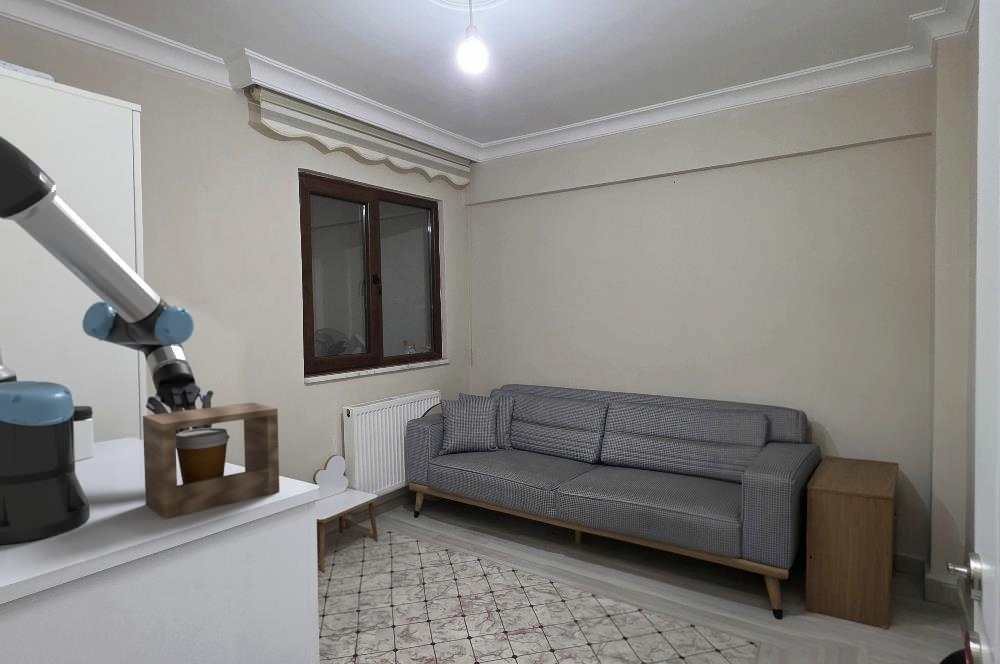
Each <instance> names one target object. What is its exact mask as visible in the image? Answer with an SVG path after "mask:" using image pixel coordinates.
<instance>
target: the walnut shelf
mask: <svg viewBox="0 0 1000 664" xmlns="http://www.w3.org/2000/svg"><path fill="white" fill-rule="evenodd" d="M278 413H279V412H278V408H277V407H273V406H268V405H264V404H261V403H258V402H257V403H256V402H245V403H239V404H238V403H237V404H230V405H229V404H228V405H221V406H215V407H214V406H213V407H212V406H211V408H204V409H202V408H197V409H195V410H187V411H185V410H183V411H179V412H171V411H170V412H168V413H162V414H154V413H153V414H148V415H143V416H142V434H143V459H144V460H143V461H144V463H143V464H144V487H145V489H144V490H145V491H144V493H145V505H146V506H147V507H148V508H150V509H151V510H153V511H154V512H155V513H156V514H157V515H159V516H160V517H162V518H163V519H164V520H166V519H171V518H176V517H179V516H183V515H188V514H192V513H197V512H201V511H204V510H209V509H213V508H217V507H221V506H226V505H230V504H233V503H237V502H241V501H242V500H243V501H246V499H247V500H251V499H255V498H259V497H258V496H260V497H263V496H262V495H264V496H267V495H266V494H268V495H271V493H272V494H276V493H279V492H280V464H279V462H280V459H279V423H278V422H279V420H278V419H279V417H278V415H279V414H278ZM237 421H243V438H244V440H243V441H244V443H243V444H244V471H240V472H237V473H231V474H227V475H224V476H221V477H216V478H212V479H207V480H202V481H197V482H192V483H187V484H183V483H182V484H179V485H178V475H177V474H178V473H177V468H178V467H177V448H176V436H175V429H180V428H187V427H189V428H192V427H194V426H201V425H208V424H212V425H215V424H222V423H229V422H237ZM278 491H279V492H278ZM275 492H276V493H275ZM254 497H255V498H254ZM250 498H251V499H250ZM243 501H242V502H243Z"/></svg>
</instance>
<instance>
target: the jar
mask: <svg viewBox="0 0 1000 664" xmlns="http://www.w3.org/2000/svg"><path fill="white" fill-rule="evenodd" d="M73 406H74V413H73V420H74V451H75V463H77V462H78V461H84V460H88V459H93V458H94V456H95V455H94V454H95V453H94V452H95V451H94V439H95V438H94V426H93V425H94V424H93V423H94V422H93V407H92V406H89V405H78V406H77V405H76V406H75V405H73Z"/></svg>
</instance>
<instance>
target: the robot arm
mask: <svg viewBox="0 0 1000 664" xmlns="http://www.w3.org/2000/svg"><path fill="white" fill-rule="evenodd" d="M0 219H2V220H8V221H13V222H14V223H16V224H17V225H18V226H19V227H20V228H22V230H24V231H25V232H26V233H27V234H28V235H29V236H31V238H33V239H34V240H35V241H36V242H37V243H38V245H41V246H42V247H43V248H44V249H45V250H46V251H47V252H48V253H49V254H51V255H52V256H53V257H54V258H55V259H56V260H57V261H58V262H60V263H61V264H62V265H63V266H64V267H65V268H66V269H67V270H68V271H70V272H71V273H72V274H73V275H74V276H75V277H76V278H77V279H79V280H80V281H81V283H83V284H84V285H85V286H86V287H88V289H90V290H91V291H92V292H93V293H94V294H95V295H96V296H98V297H99V298H100V299H101V300H102V301H97V302H95V303H93V304H92V305H91V306H89V308H88V309H87V310H86V312H85V313H84V316H83V319H82V324H81V325H82V329H83V332H84V333H85V334H86V335H87V336H89V337H91V338H95V339H97V340H99V342H100V341H103V342H108V343H110V344H115V345H118V346H121V347H126V348H129V349H131V350H134V351H137V352H138V351H139V352H142V353H143V354H144V358H145V360H146V363H147V366H148V368H149V369H148V370H149V372H150V375H151V378H152V382H153V385H154V389H155V392H156V393H155V395H154V396H149V397H148V398H147V400H146V405H145V408H146V409H148V410H149V411H151V412H152V413H153V415H154V414H162V413H169V411H168V410H167V408H166V407H165V406H167V407H168V408H169V409H170V413H171V412H179V411H187V410H195V409H198V408H197V406H196V401H197V400H198V397H199V399H200V400H199V401H200V403H202V405H201V409H204V408H212V398H213V395H214V391H213V390H208V391H204V390H202V389H201V388H200V386H199V385H197V382H196V379H195V376H194V374H193V371H192V368H191V366H190V363H189V360H188V357H187V354H186V351H185V349H184V347H183V345H182V344H183V343H186V342H187V341H188V340H189V339H190V338H191V336H192V335H193V332H194V329H195V323H194V319H193V315H192V314H191V312H189V311H188V310H187V309H185V308H183V307H179V306H175V305H172V306H170V305H169V304H168V303H167V302H166V301H165V300H164V299H163V298H161V296H159V294H157V292H156V291H155V290H154V289H152V287H151V286H149V284H148V283H147V282H145V281H144V280H143V279H142V277H140V276H139V275H138V274H137V272H136V271H135V270H134V269H133V268H132V267H131V266H129V264H127V263H126V261H125V260H124V259H123V258H121V257H120V256H119V254H118V253H116V251H114V249H112V247H111V246H109V244H108V243H107V242H106V241H104V239H102V237H100V236H99V235H98V234H97V232H95V230H93V229H92V227H91V226H90V225H88V223H87V222H86V221H85V220H84V219H83V218H82V217H81V216H80V215H79V214H78V213H77V212H75V210H73V208H72V207H71V206H70V205H68V203H66V202H65V200H64V199H63V198H62V197H60V196H59V194H57V184H56V182H55V181H54V180H53V179H52V178H51V177H50V176H49V175H48V174H47V173H46V172H45V170H43V169H42V168H41V167H40V166H39V165H38V164H37V163H35V161H33V159H31V158H30V157H29V156H28V155H26V154H25V153H24V152H23V151H22V150H21V149H20V148H18V147H17V146H16V145H14V144H12V143H11V142H9V140H7V139H6V138H4V137H2V136H1V135H0ZM1 349H2V348H0V545H6V544H7V545H9V544H16V543H17V544H18V543H23V542H28V541H34V540H39V539H43V538H47V537H52V536H55V535H58V534H61V533H64V532H68V531H70V530H73V529H75V528H77V527H79V526H81V525H83V524H85V523H86V522H87V521H88V520H89V518H90V515H91V514H90V503H89V500H88V499H87V496H86V494H85V492H84V490H83V487H82V485H81V484H80V481H79V478H78V475H77V474H76V462H75V451H74V420H73V413H74V406H75V405H74V402H73V395H72V392H71V390H70V389H69V388H68V387H67V386H65V385H63V384H61V383H57V382H51V381H35V380H20V381H19V380H18V379H17V374H16V373H17V372H16V371H14V370H12V369H11V368H9V367H7V366H6V365H5V364H4V363H3V357H2V351H1ZM164 405H165V406H164ZM201 428H213V424H208V425H201V426H194V427H187V428H180V429H175V436H176V434H178V433H180V432H183V431H187V430H193V429H201Z"/></svg>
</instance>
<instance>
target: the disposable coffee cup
mask: <svg viewBox="0 0 1000 664" xmlns="http://www.w3.org/2000/svg"><path fill="white" fill-rule="evenodd" d="M230 437H231V436H230V435H229V433H228V430H227V429H226V428H223V427H221V428H220V427H211V428H201V429H193V430H192V429H190V430H187V431H183V432H180V433H178V434H176V455H177V458H178V464H179V471H180V475H181V476H180V477H181V481H182V484H187V483H192V482H197V481H202V480H207V479H212V478H216V477H221V476H225V466H226V457H227V456H226V455H227V449H228V447H227V446H228V442H229V439H230Z"/></svg>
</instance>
